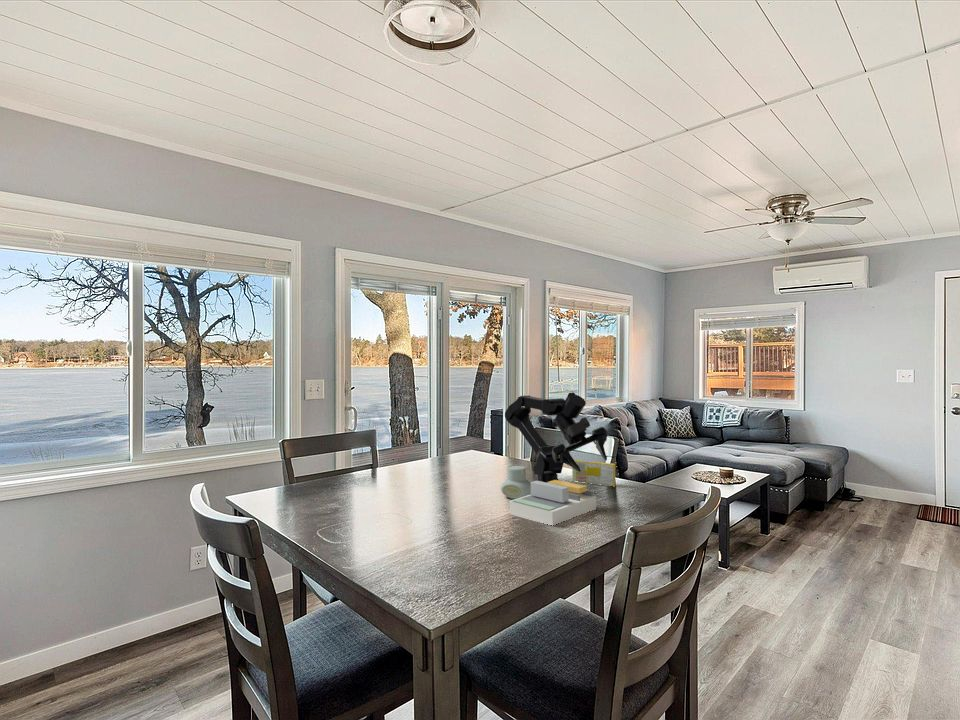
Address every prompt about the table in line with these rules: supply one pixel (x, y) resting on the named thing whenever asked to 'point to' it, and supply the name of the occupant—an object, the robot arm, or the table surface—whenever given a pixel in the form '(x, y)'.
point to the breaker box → (553, 507)
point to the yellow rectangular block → (570, 486)
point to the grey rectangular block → (550, 491)
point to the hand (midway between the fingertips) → (593, 465)
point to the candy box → (594, 473)
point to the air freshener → (516, 483)
